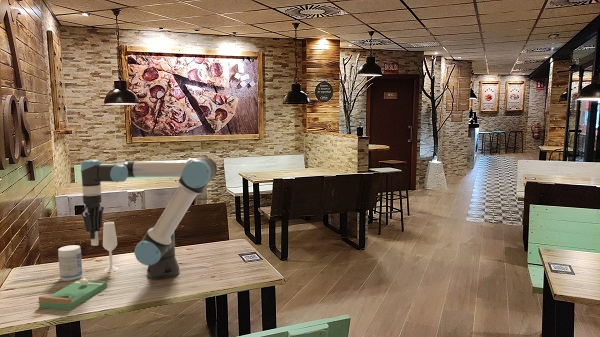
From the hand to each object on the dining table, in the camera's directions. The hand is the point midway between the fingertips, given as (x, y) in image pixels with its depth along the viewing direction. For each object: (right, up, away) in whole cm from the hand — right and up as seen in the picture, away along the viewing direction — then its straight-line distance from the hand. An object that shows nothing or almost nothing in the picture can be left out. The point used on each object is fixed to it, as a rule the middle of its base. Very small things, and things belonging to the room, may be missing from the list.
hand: (94, 245), depth 199 cm
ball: (-2, -15, -7) cm, 17 cm away
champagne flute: (-1, -16, +19) cm, 25 cm away
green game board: (-3, -20, -12) cm, 24 cm away
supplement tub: (-15, -17, +9) cm, 25 cm away
